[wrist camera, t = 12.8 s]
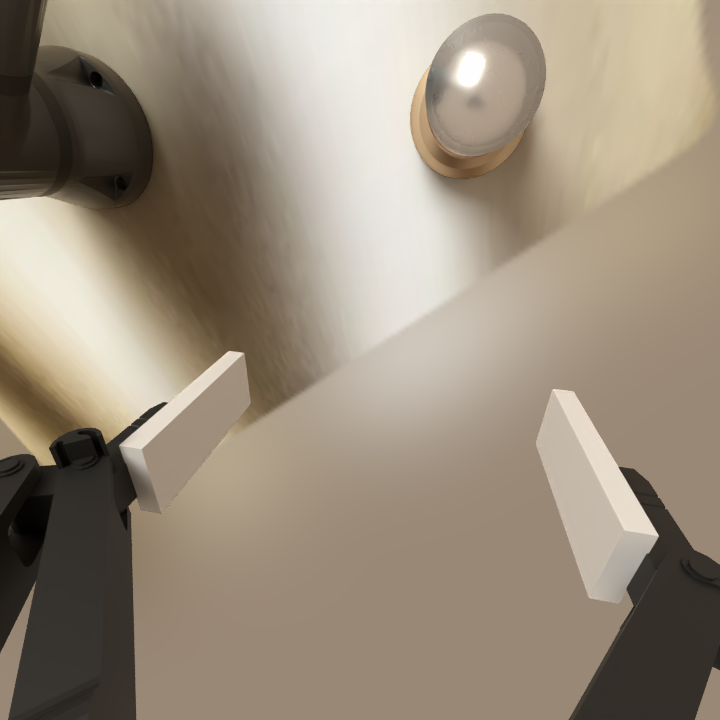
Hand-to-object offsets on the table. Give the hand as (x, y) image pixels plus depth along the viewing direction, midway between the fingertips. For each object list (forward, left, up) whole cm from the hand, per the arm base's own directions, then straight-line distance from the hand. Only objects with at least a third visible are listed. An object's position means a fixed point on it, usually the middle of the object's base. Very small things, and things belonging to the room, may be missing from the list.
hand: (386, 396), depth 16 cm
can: (+3, +13, -25) cm, 29 cm away
